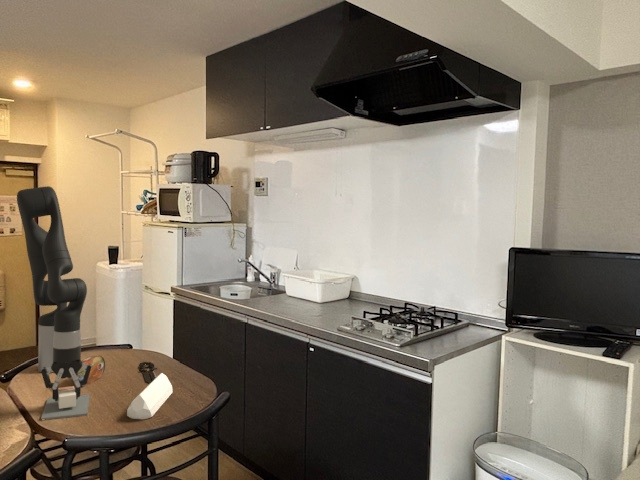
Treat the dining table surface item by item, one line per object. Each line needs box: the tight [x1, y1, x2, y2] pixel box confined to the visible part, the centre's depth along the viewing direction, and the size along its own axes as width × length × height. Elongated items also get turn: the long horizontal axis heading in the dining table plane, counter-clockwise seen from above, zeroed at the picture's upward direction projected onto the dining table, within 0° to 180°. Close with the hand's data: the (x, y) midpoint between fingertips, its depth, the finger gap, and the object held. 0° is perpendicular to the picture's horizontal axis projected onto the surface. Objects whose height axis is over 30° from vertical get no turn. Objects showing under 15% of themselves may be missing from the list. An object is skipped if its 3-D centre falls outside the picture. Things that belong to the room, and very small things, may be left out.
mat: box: [40, 393, 91, 420], centre depth 151 cm, size 16×12×1 cm
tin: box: [71, 355, 106, 387], centre depth 173 cm, size 15×3×8 cm, turn 168°
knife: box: [138, 361, 158, 384], centre depth 183 cm, size 25×6×1 cm, turn 20°
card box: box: [58, 385, 76, 409], centre depth 151 cm, size 4×8×4 cm, turn 31°
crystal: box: [126, 372, 174, 420], centre depth 155 cm, size 7×7×24 cm
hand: (66, 399), depth 151 cm, fingers closed on card box, 5 cm apart
